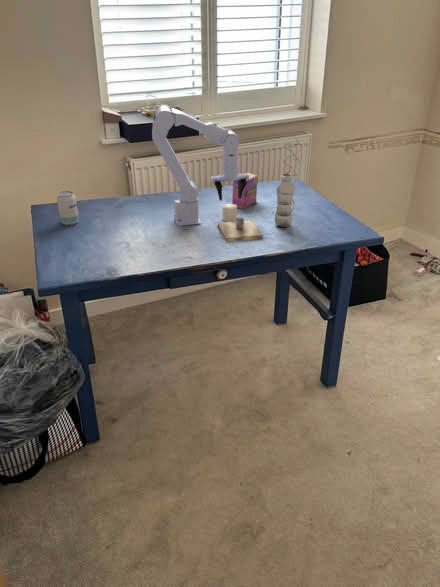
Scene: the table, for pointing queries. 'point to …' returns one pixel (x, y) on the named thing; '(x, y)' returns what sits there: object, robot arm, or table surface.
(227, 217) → the cap
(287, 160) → the dna model
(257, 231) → the stud base
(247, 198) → the box
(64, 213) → the beverage can
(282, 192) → the plastic bottle
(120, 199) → the table surface
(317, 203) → the table surface
